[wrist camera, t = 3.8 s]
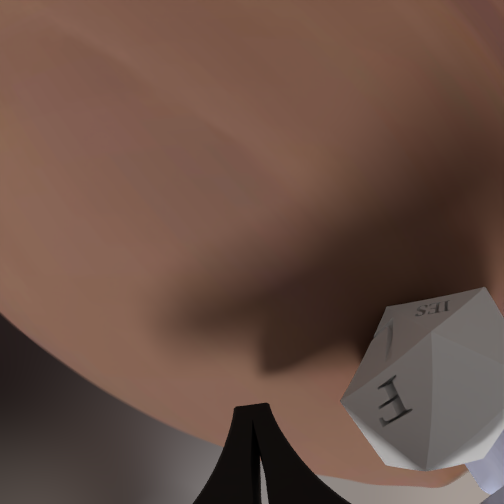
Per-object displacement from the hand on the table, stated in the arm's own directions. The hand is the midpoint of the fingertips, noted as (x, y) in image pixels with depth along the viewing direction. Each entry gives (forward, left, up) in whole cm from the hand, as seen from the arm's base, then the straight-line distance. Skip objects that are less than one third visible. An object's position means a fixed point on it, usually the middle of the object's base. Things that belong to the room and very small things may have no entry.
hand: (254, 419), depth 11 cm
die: (0, -8, -3) cm, 9 cm away
